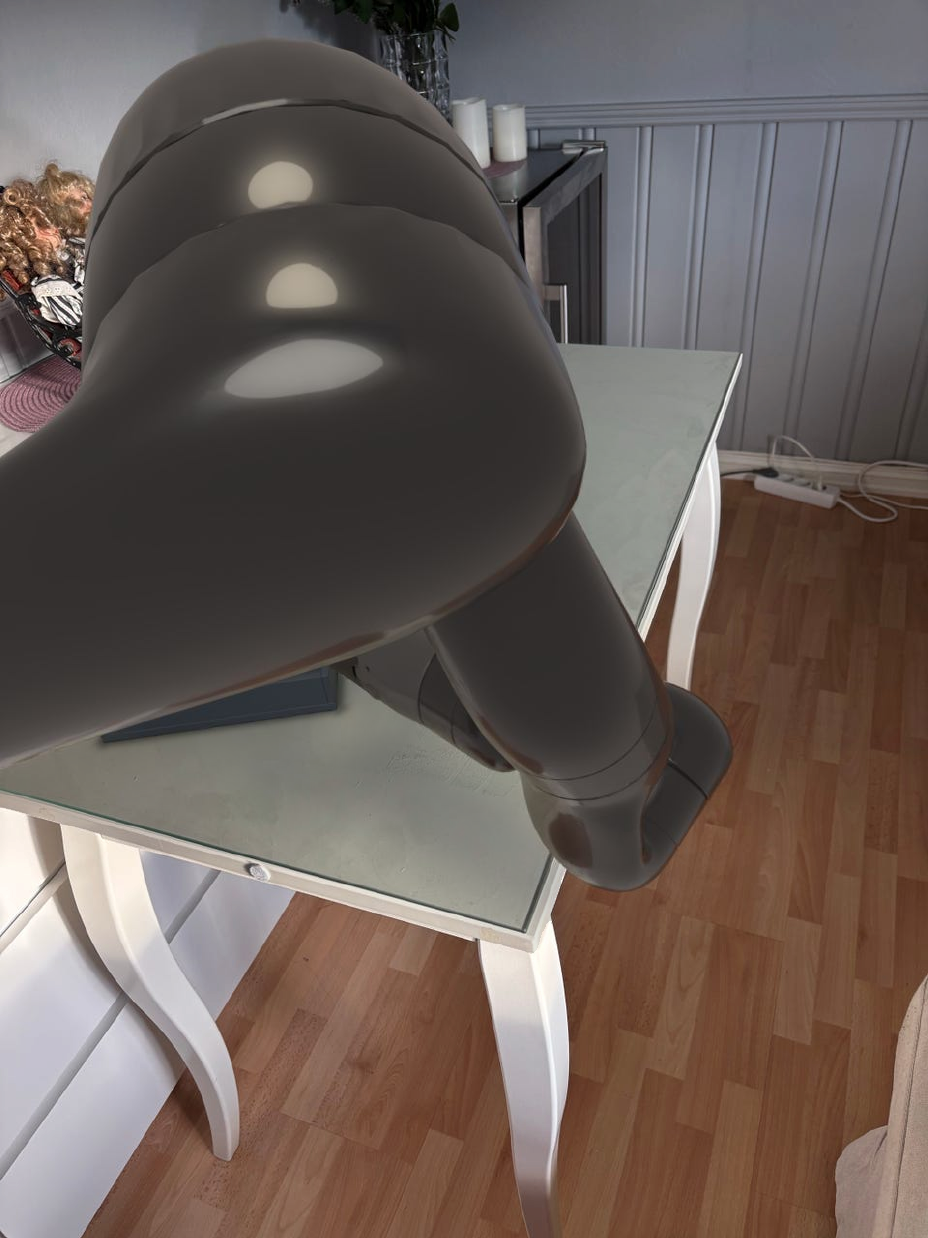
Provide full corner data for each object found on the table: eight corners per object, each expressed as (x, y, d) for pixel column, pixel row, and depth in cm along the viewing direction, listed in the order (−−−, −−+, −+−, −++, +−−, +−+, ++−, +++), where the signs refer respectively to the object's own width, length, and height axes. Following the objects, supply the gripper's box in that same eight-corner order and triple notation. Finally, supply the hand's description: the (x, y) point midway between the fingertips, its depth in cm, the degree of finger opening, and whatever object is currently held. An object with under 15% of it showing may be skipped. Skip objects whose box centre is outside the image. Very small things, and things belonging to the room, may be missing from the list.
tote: (103, 743, 74) (86, 709, 72) (139, 613, 87) (126, 581, 85) (337, 709, 75) (328, 675, 72) (337, 585, 88) (330, 553, 86)
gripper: (487, 540, 56) (324, 462, 65) (303, 659, 49) (150, 551, 58) (494, 633, 61) (342, 547, 70) (328, 754, 53) (183, 641, 63)
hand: (255, 549), depth 64 cm, fingers open, 8 cm apart
